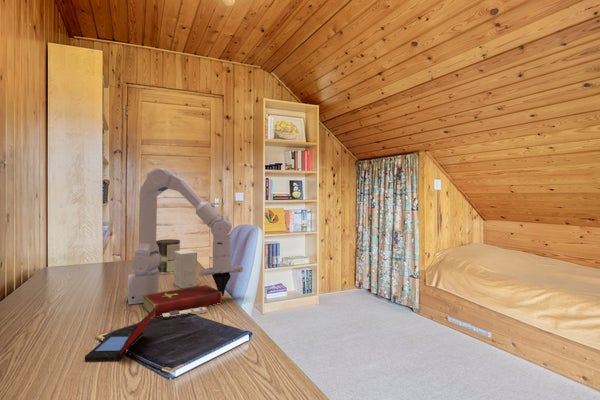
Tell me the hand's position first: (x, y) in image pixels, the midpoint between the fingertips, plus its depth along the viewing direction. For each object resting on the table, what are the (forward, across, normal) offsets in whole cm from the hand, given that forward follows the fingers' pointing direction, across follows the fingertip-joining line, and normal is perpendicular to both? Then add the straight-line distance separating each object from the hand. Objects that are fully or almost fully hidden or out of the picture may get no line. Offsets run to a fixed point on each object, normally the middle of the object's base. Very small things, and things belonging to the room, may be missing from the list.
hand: (220, 295), depth 110 cm
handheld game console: (+2, -30, -23) cm, 38 cm away
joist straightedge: (+1, -14, -9) cm, 16 cm away
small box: (+2, -6, +24) cm, 25 cm away
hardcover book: (+2, -12, 0) cm, 12 cm away
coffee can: (+2, -8, +51) cm, 52 cm away
